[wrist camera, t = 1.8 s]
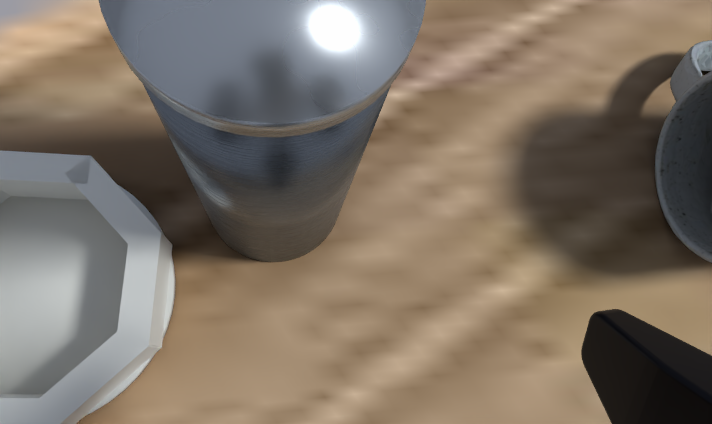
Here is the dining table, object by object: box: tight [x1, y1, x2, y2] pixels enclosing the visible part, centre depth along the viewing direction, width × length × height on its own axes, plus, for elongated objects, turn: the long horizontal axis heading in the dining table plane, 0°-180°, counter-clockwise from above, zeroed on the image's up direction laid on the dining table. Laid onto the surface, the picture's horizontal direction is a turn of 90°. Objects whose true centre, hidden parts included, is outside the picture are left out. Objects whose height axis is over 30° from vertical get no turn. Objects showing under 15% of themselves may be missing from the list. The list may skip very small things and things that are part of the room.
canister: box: [99, 0, 426, 262], centre depth 15 cm, size 5×5×13 cm
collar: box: [0, 151, 176, 424], centre depth 18 cm, size 9×9×2 cm
